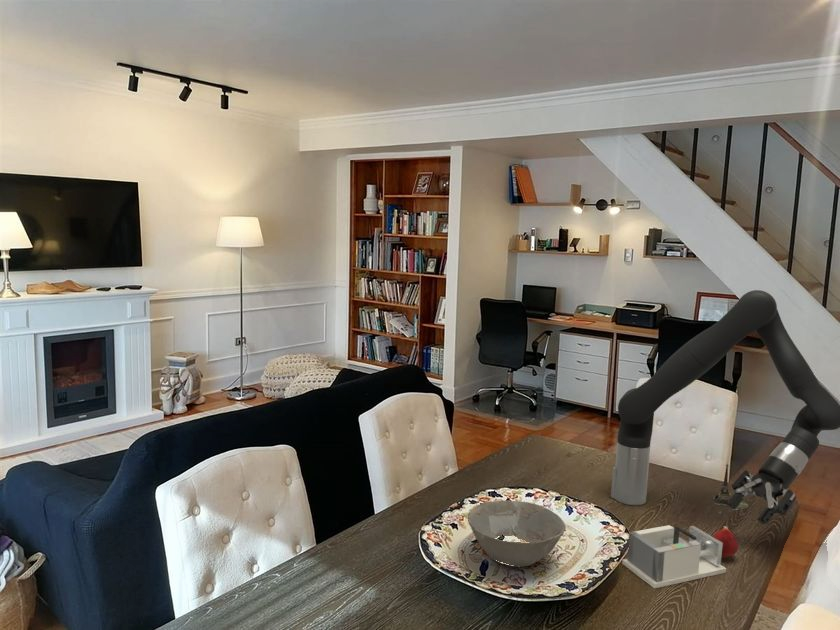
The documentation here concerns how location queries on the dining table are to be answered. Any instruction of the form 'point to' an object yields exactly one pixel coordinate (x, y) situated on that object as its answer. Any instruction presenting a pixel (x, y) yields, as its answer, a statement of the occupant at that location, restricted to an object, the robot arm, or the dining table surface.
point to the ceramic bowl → (516, 530)
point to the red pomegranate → (727, 542)
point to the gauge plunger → (709, 545)
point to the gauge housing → (666, 558)
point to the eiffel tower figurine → (726, 496)
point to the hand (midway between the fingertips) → (745, 514)
